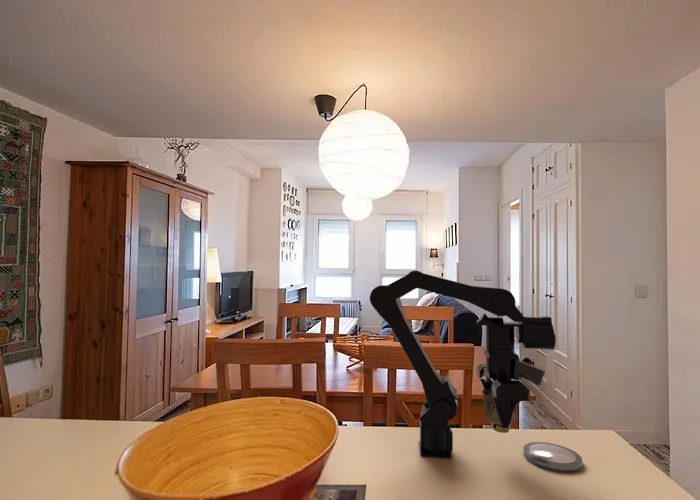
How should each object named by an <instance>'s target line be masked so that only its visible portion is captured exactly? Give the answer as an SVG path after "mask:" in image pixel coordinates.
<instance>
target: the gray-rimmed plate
mask: <svg viewBox="0 0 700 500" xmlns="http://www.w3.org/2000/svg"><path fill="white" fill-rule="evenodd" d="M523 456H524V458H525V459H526V460H527V461H528V462H529V463H531V464H533V465H534V466H537V467H540V468H542V469H545V470H547V471H552V472H557V473H564V474H565V473H567V474H569V473H577V472H579V471H581V470H583V458H582V457H581V455H580V454H578V453H577V452H576V451H574V450H573V449H570V448H568V447H566V446H563V445H559V444H556V443H551V442H546V441H534V442H532V441H531V442H528V443H525V444H524V446H523Z"/></svg>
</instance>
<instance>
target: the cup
mask: <svg viewBox="0 0 700 500" xmlns="http://www.w3.org/2000/svg"><path fill="white" fill-rule="evenodd" d="M481 392H482V400H483V408H484V409H483V410H484V412H485V415H486V418H487V419H488V420H489V422H491V428H492V430H493V431H495V432H496V433H497V432H498V433H501V434H507V433H509V432H510V431H511V425H513V424H514V423H515V422H516V420H517V419H518V413H519V407H520V406H519V405H520V402H519V403H518V404H516V406H515V408H514V411H513V414H512V418H511V421H510V425H509V428H503V427H502V424H501V422H500V419H499V416H498V413H497V410H496V408H495V405H494V402H493V399H492V396H491V393H493V392H492V388H489V390H488V389H486V388H484V389H483V388H482V390H481Z"/></svg>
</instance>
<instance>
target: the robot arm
mask: <svg viewBox="0 0 700 500" xmlns="http://www.w3.org/2000/svg"><path fill="white" fill-rule="evenodd" d="M416 289H420V290H424V291H427V292H431V293H435V294H438V295H442V296H444V297H445V296H446V297H450V298H453V299H456V300H461V301H463V302H467V303H469V304H472V305H473V306H476V307H477V308H479V309H483V310H484V311H486V312H489V313H491V314H493V315H495V316H499V317H489V316H488V315H487V314H486V313H485V312H484V313H482V315H481V317H480V318H478V319H477V320H476V323H477V325H478V326H485V348H483V355H484V356H485V363H479V364H478V366H476V376H477V377H478V378H479V382H480V384H481V386H482V389H483V390H484V388H486V389H488V390H489V388H492V392H493V393H491V396H492V399H493V402H494V405H495V408H496V410H497V413H498V416H499V419H500V422H501V424H502V427H503V428H509V425H510V421H511V418H512V414H513V411H514V408H515V406H516V404H518V403H519V404H520V403H521V402H529V401H531V391H530V389H529V388H528V387H527V386H526V384H524V383H523V382H522V381H521V379H523V380H527V381H528V382H531V383H534V385H536V386H538V387H540V386H541V384H542V382H543V378H544V376H545V373H546V371H545V370H543V369H542V368H540V367H538V366H537V365H535V364H533V360H532V359H531V358H529V357H527V356H525V355H522V356H521V357H520V356H519V355H518V354H517V353H516V352H515V333H516V342H517V343H518V344H522V345H521V346H522V348H523V349H528V350H529V349H530V350H531V349H532V350H545V351H546V350H547V351H554V349H555V348H556V341H557V340H556V337H557V336H556V334H555V329H554V325H553V319H552V317H550V316H524V315H523V313H522V312H521V311H520V309H518V307H517V306H516V298H515V297H514V295H513V293H512V292H511V291H509V290H507V289H505V288H502V287H501V288H499V287H493V286H492V287H490V286H478V285H470V284H465V283H462V282H458V281H455V280H454V281H453V280H451V279H446V278H443V277H439V276H436V275H431V274H427V273H423V272H422V271H420V270H415V269H414V270H412V271H410V272H408V274H405V275H404V276H402V277H401V278H398V279H397V280H395V281H393V282H391V283H390V284H389V283H388V284H382V285H378V286H375V287H374V288H373V289H372V290H371V291H370V295H369V302H370V304H371V306H372V307H373V309H374V310H375V312H376V313H377V314H378V315H379V316H380V318H382V319H383V320H384V321H385V322H386V323H387V324H388V326H390V328H391V330H392V332H393V333H394V335H395V337H396V340H397V341H398V343H399V344H400V346H401V348H402V349H403V351H404V353H405V354H406V356H407V359H408V360H409V362H410V364H411V366H412V368H413V369H414V371H415V373H416V375H417V377H418V379H419V380H420V382H421V384H422V388H423V392H424V395H425V399H426V402H425V403H424V404H423V405H422V408H421V412H420V416H419V441H418V448H419V455H420V456H421V457H432V458H433V457H434V458H446V459H447V458H448V459H451V458H452V452H453V450H454V449H453V443H454V442H453V441H454V440H453V439H454V438H453V437H454V435H453V430H452V428H451V425H450V422H449V421H451V420H452V419H453V418H455V416H456V415H457V413H458V390H457V388H456V387H454V385H453V383H452V382H451V379H450V377H449V375H448V374H446V375H445V376H442V375H441V374H440V373H439V372H438V371H437V370H436V368H435V366H434V365H433V363H432V361H431V359H430V358H429V356H428V354H427V352H426V351H425V348H424V347H423V346H422V343H421V341H420V340H419V339H418V335H416V333H415V331H414V329H413V327H412V326H411V324H410V322H409V321H408V319H407V317H406V314H405V310H404V307H403V304H402V301H401V298H402V297H404V296H406V295H407V294H409V293H411V292H412V291H414V290H416ZM503 317H507V318H509V319H510V320H512V321H513V322H506V321H504V318H503ZM515 328H516V331H515ZM510 426H511V425H510Z"/></svg>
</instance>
